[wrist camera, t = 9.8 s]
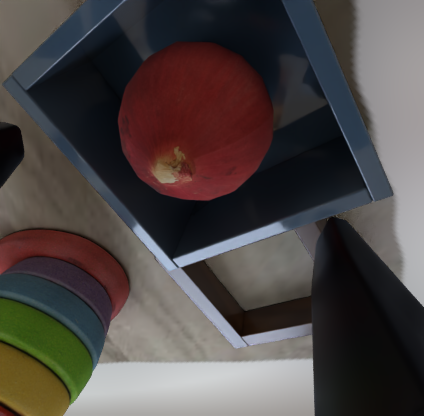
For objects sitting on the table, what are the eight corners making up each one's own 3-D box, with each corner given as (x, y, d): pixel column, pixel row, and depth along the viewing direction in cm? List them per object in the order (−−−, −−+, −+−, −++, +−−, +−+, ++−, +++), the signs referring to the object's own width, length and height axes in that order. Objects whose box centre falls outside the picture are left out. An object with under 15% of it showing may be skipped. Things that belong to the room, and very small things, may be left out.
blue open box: (195, 208, 21) (168, 272, 16) (78, 53, 16) (0, 84, 12) (367, 133, 16) (394, 195, 12) (264, -112, 12) (246, -159, 7)
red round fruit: (218, 171, 18) (177, 280, 12) (135, 95, 17) (36, 174, 10) (303, 95, 15) (309, 189, 9) (210, -6, 13) (134, 17, 7)
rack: (238, 323, 27) (235, 348, 25) (164, 235, 23) (153, 258, 21) (367, 295, 22) (373, 324, 20) (303, 179, 18) (304, 201, 16)
